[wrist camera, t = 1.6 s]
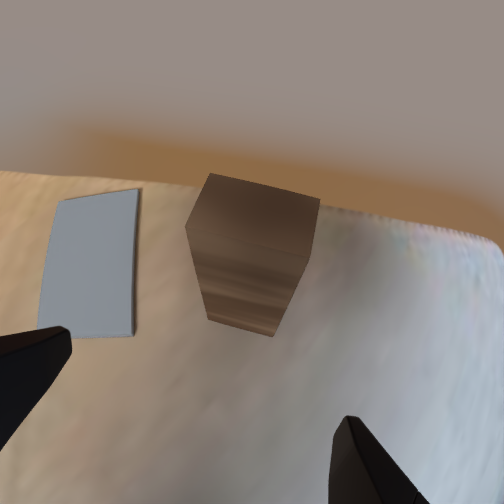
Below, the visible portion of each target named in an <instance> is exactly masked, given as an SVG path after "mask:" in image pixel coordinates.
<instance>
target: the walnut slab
mask: <svg viewBox="0 0 504 504" xmlns="http://www.w3.org/2000/svg"><path fill="white" fill-rule="evenodd" d="M319 204H320V199H318V198H314V197H310V196H306V195H302V194H298V193H295V192H291V191H287V190H283V189H279V188H274V187H270V186H266V185H262V184H257V183H253V182H249V181H245V180H240V179H236V178H231V177H226V176H222V175H217V174H212V173H210V174H209V176H208V178H207V181H206V183H205V184H204V187H203V189H202V191H201V193H200V195H199V197H198V199H197V201H196V203H195V206H194V208H193V210H192V212H191V214H190V216H189V219H188V221H187V223H186V225H185V228H186V233H187V237H188V241H189V246H190V250H191V254H192V258H193V262H194V266H195V270H196V274H197V278H198V282H199V286H200V290H201V294H202V298H203V302H204V305H205V309H206V313H207V316H208V320H212V321H215V322H219V323H222V324H226V325H229V326H233V327H236V328H240V329H244V330H247V331H251V332H255V333H259V334H262V335H266V336H270V337H273V336H274V334H275V332H276V329H277V327H278V325H279V323H280V321H281V319H282V317H283V315H284V313H285V311H286V309H287V306H288V304H289V302H290V300H291V298H292V296H293V294H294V291H295V289H296V287H297V285H298V283H299V281H300V278H301V276H302V274H303V272H304V270H305V267H306V265H307V263H308V261H309V258H310V254H311V248H312V243H313V238H314V232H315V227H316V221H317V216H318V210H319Z"/></svg>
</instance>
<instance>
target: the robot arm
mask: <svg viewBox="0 0 504 504" xmlns="http://www.w3.org/2000/svg"><path fill="white" fill-rule="evenodd" d="M71 354H72V342H71V333H70V331H69V330H68V329H67V328H65V327H63V326H54V327H48V328H43V329H38V330H33V331H27V332H22V333H16V334H11V335H5V336H0V451H1V450H2V448H3V447H4V446H5V444H6V443H7V441H8V440H9V439H10V437H11V436H12V435H13V433H14V432H15V431H16V429H17V428H18V427H19V426H20V424H21V423H22V422H23V420H24V419H25V418H26V417H27V415H28V414H29V413H30V411H31V410H32V409H33V408H34V406H35V405H36V404H37V403H38V401H39V400H40V399H41V398H42V396H43V395H44V394H45V393H46V392H47V390H48V389H49V388H50V386H51V385H52V383H53V382H54V380H55V379H56V377H57V376H58V374H59V373H60V371H61V370H62V368H63V367H64V365H65V364H66V362H67V361H68V359H69V358H70V356H71ZM328 504H430V503H429V502H428V501H427V500H426V499H425V498H424V496H423V495H422V494H421V493H420V492H419V491H418V489H417V488H416V487H415V486H414V484H413V483H412V482H411V481H410V480H409V478H408V477H407V476H406V475H405V474H404V472H403V471H402V470H401V469H400V467H399V466H398V465H397V464H396V463H395V461H394V460H393V459H392V458H391V456H390V455H389V454H388V453H387V452H386V450H385V449H384V448H383V447H382V445H381V444H380V443H379V442H378V440H377V439H376V438H375V437H374V435H373V434H372V433H371V432H370V430H369V429H368V428H367V427H366V426H365V424H364V423H363V422H362V421H361V419H360V418H359V417H356V416H345V417H344V418H343V420H342V422H341V423H340V425H339V427H338V428H337V430H336V432H335V434H334V437H333V444H332V454H331V463H330V471H329V484H328Z"/></svg>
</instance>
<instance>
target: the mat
mask: <svg viewBox="0 0 504 504" xmlns="http://www.w3.org/2000/svg"><path fill="white" fill-rule="evenodd" d="M138 200H139V191H138V189H134V190H127V191H120V192H113V193H106V194H100V195H94V196H88V197H82V198H76V199H70V200H65V201H59V202H58V205H57V209H56V213H55V217H54V221H53V226H52V230H51V235H50V239H49V244H48V249H47V255H46V260H45V266H44V272H43V279H42V286H41V293H40V302H39V311H38V322H37V330H38V329H43V328H48V327H54V326H63V327H65V328H67V329H68V330H69V331H70V333H71V338H105V337H129V336H134V316H133V299H134V259H135V239H136V224H137V212H138Z"/></svg>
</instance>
